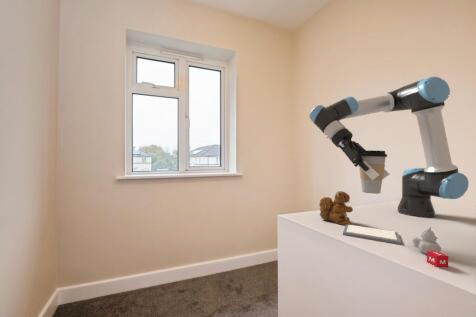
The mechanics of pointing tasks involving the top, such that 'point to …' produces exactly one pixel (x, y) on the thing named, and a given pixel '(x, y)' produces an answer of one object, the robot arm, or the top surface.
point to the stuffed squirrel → (336, 208)
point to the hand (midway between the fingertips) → (381, 177)
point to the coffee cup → (378, 164)
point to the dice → (437, 259)
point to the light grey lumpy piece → (427, 242)
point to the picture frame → (372, 234)
